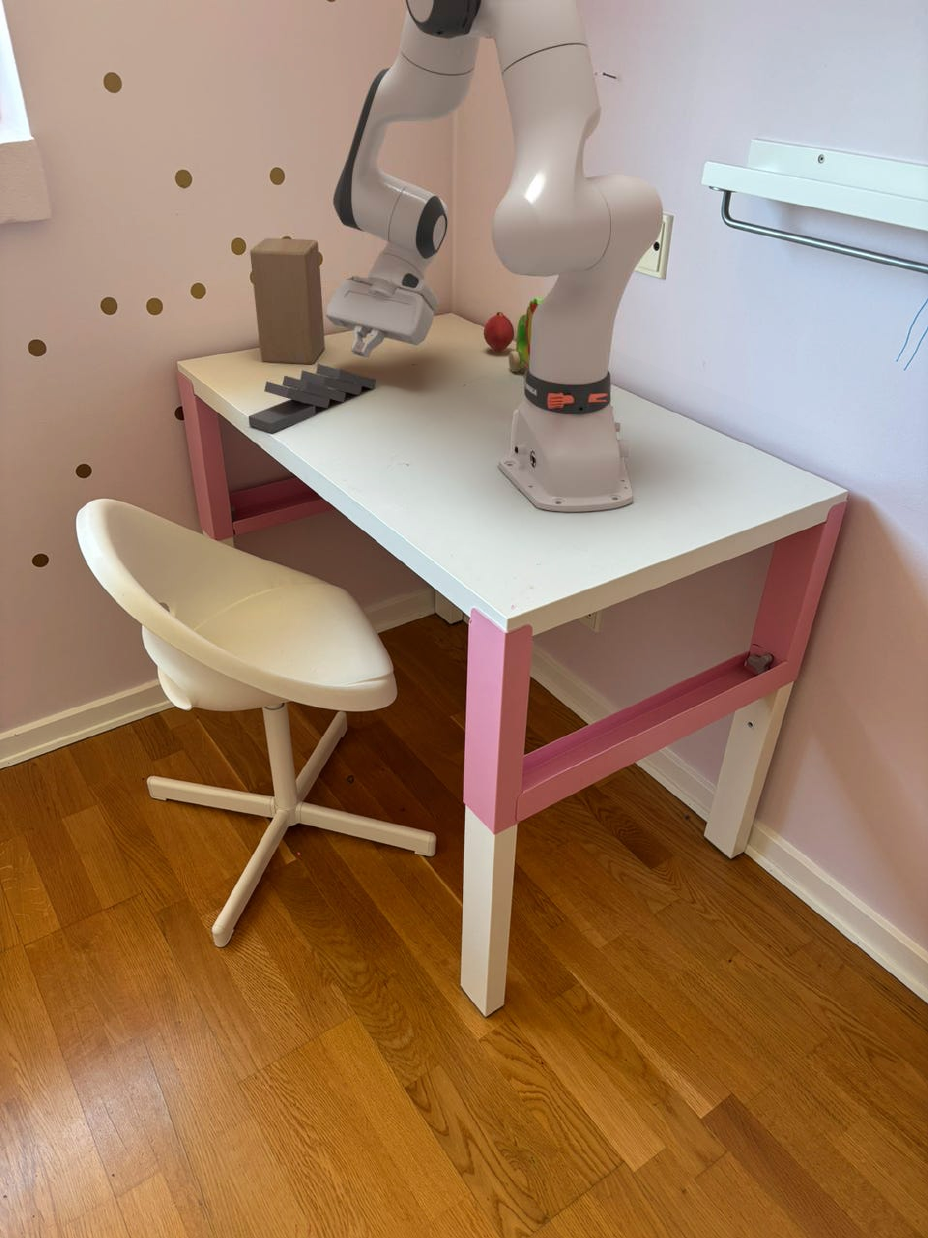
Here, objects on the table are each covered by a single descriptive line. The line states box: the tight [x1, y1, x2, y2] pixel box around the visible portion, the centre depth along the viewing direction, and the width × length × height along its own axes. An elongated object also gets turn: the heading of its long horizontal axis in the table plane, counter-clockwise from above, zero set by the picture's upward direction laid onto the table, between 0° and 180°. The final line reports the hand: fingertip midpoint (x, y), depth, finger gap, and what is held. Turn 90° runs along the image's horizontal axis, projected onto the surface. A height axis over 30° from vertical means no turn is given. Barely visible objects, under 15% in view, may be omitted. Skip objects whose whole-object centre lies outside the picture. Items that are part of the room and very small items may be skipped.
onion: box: [483, 310, 515, 353], centre depth 181 cm, size 6×6×8 cm
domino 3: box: [282, 375, 347, 403], centre depth 157 cm, size 2×5×10 cm
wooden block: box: [249, 237, 326, 365], centre depth 175 cm, size 10×10×20 cm
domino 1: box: [263, 381, 331, 409], centre depth 154 cm, size 2×5×10 cm
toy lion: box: [508, 297, 545, 380], centre depth 166 cm, size 16×5×15 cm, turn 14°
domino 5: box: [315, 363, 377, 390], centre depth 163 cm, size 2×5×10 cm
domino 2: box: [248, 399, 316, 434], centre depth 153 cm, size 2×5×10 cm
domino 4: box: [299, 370, 363, 396], centre depth 160 cm, size 2×5×10 cm
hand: (359, 354), depth 163 cm, fingers closed
